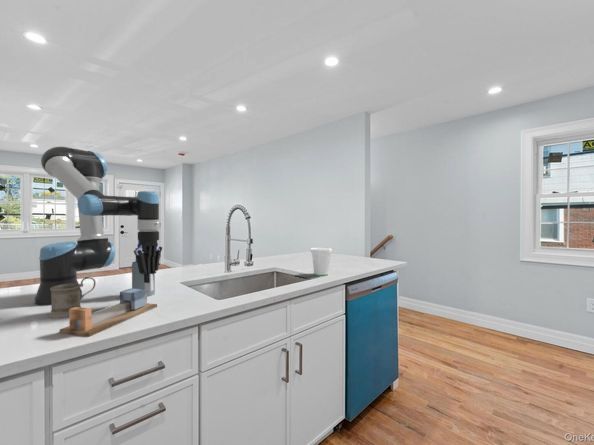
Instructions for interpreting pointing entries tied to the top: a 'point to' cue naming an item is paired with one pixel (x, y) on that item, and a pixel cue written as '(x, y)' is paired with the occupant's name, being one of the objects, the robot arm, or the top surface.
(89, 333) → the rail board
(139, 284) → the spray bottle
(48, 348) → the top surface
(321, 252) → the cup
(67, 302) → the mug
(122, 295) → the slider
